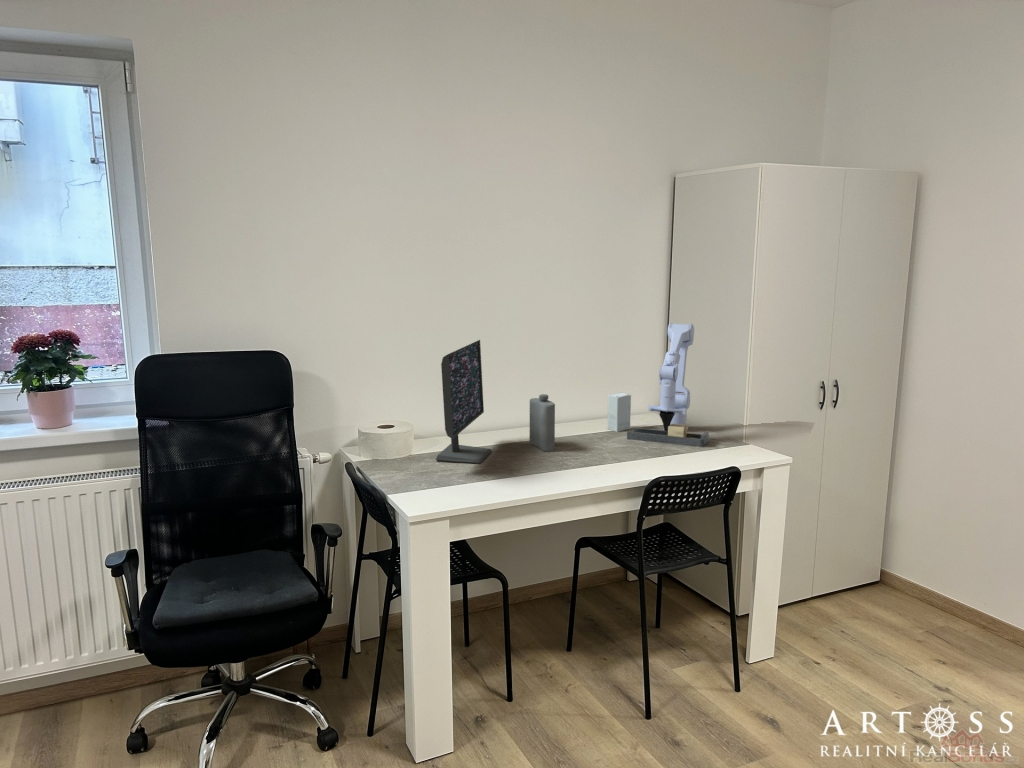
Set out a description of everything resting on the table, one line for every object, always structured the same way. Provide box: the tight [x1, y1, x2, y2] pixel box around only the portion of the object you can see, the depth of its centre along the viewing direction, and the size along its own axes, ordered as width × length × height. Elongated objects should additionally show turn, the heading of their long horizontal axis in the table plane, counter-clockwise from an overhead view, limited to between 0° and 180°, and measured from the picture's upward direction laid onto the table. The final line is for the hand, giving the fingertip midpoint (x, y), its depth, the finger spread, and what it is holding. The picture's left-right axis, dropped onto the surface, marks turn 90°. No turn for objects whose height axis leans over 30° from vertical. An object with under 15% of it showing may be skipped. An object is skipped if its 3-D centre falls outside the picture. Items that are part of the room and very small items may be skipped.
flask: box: [529, 393, 556, 452], centre depth 288 cm, size 15×6×20 cm, turn 24°
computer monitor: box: [435, 339, 492, 464], centre depth 273 cm, size 44×16×40 cm, turn 168°
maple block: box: [668, 424, 688, 437], centre depth 297 cm, size 6×6×5 cm
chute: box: [626, 427, 710, 448], centre depth 299 cm, size 9×30×4 cm, turn 64°
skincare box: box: [606, 392, 632, 433], centre depth 317 cm, size 8×6×15 cm
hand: (666, 430), depth 299 cm, fingers closed
